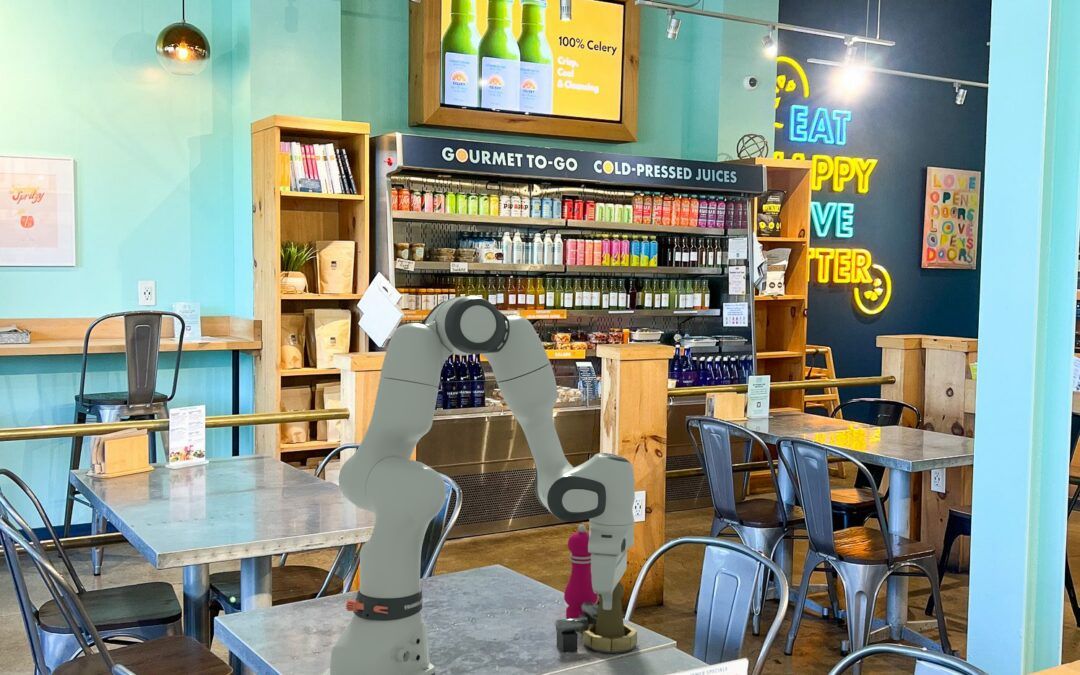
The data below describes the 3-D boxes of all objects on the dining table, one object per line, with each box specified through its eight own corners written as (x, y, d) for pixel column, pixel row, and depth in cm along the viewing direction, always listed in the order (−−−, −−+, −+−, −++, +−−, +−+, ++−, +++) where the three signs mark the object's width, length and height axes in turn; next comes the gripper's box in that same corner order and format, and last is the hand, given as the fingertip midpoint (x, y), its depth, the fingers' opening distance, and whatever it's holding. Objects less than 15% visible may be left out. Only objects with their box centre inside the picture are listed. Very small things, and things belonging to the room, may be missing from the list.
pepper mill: (603, 615, 228) (605, 524, 227) (585, 624, 222) (587, 529, 221) (575, 609, 232) (576, 519, 231) (557, 617, 226) (558, 525, 225)
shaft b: (578, 629, 218) (578, 601, 217) (595, 627, 219) (596, 599, 219) (590, 638, 212) (590, 609, 212) (608, 636, 214) (608, 607, 213)
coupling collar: (626, 657, 201) (626, 641, 201) (575, 649, 205) (576, 634, 205) (642, 641, 211) (643, 626, 211) (594, 634, 215) (594, 619, 215)
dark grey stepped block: (560, 653, 203) (560, 623, 203) (554, 646, 207) (554, 616, 207) (589, 650, 205) (590, 620, 205) (582, 644, 209) (583, 614, 208)
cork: (609, 643, 204) (610, 587, 203) (588, 635, 208) (589, 580, 208) (631, 637, 208) (632, 582, 207) (610, 630, 212) (611, 576, 212)
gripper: (604, 523, 218) (603, 589, 219) (586, 545, 198) (584, 618, 199) (634, 525, 217) (633, 592, 217) (619, 548, 197) (617, 621, 197)
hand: (609, 605), depth 208 cm, fingers closed on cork, 4 cm apart
